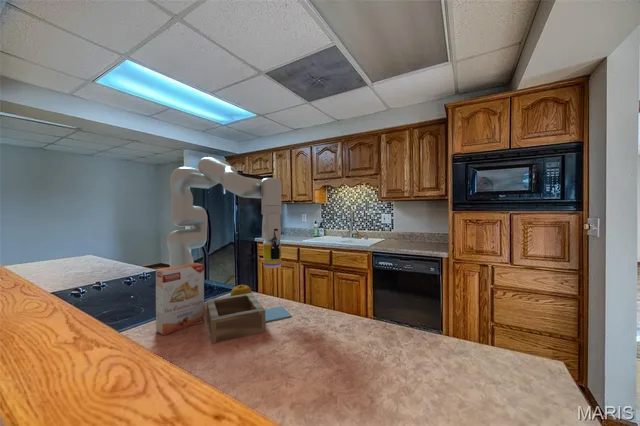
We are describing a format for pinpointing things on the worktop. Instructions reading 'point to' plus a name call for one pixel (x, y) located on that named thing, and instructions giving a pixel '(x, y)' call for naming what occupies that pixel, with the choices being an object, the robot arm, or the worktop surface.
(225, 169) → the robot arm
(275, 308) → the mat
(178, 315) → the cracker box
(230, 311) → the box
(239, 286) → the apple
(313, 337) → the worktop surface
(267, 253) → the supplement bottle
